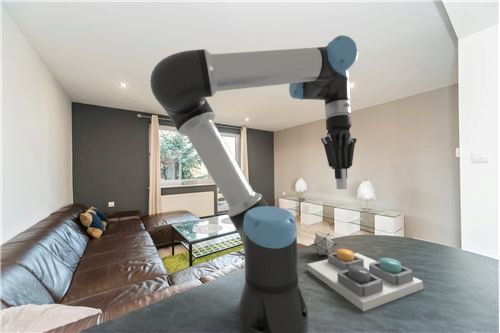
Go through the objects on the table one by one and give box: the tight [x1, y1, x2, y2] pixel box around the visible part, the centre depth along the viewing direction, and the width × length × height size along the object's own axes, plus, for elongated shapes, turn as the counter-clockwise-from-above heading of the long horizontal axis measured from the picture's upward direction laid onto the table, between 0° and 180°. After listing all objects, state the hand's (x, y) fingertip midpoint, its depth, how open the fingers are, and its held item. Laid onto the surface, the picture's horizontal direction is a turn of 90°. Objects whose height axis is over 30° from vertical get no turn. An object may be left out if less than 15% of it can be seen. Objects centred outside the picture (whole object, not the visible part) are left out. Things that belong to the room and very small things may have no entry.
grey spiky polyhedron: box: [311, 232, 338, 257], centre depth 72 cm, size 9×8×10 cm
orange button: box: [335, 248, 354, 262], centre depth 60 cm, size 5×5×4 cm
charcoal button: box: [348, 265, 371, 285], centre depth 49 cm, size 5×5×4 cm
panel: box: [307, 252, 424, 312], centre depth 55 cm, size 22×20×4 cm
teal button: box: [378, 257, 402, 275], centre depth 53 cm, size 5×5×4 cm
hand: (341, 189), depth 60 cm, fingers closed
